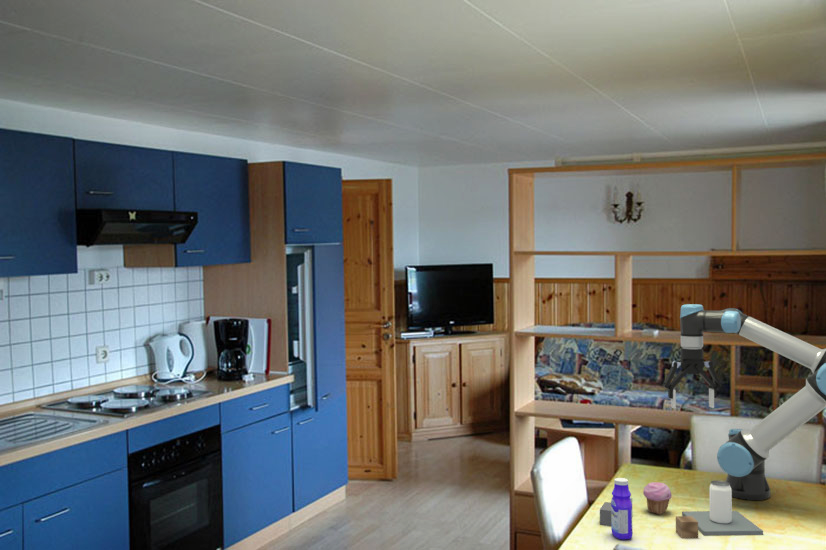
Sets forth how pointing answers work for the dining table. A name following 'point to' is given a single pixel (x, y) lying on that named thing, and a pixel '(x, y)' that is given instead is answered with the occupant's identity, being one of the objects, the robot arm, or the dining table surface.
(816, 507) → the dining table surface
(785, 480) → the dining table surface
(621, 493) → the bottle
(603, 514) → the charcoal block
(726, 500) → the can
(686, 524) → the walnut block
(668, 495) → the cupcake
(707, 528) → the board
